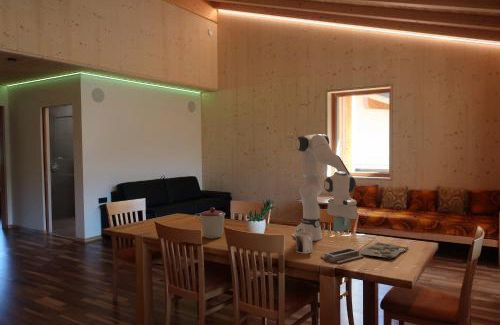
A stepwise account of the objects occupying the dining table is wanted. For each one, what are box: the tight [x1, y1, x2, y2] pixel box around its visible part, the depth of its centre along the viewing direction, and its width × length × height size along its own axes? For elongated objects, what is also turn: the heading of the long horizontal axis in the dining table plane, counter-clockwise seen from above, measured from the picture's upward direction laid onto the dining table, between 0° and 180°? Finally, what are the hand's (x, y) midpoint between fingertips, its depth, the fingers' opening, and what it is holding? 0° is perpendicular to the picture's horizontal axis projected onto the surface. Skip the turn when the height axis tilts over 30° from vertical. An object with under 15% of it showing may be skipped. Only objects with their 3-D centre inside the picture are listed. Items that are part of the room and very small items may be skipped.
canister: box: [199, 207, 226, 240], centre depth 277 cm, size 18×18×21 cm
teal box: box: [333, 217, 351, 232], centre depth 223 cm, size 3×10×7 cm, turn 123°
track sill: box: [320, 247, 365, 265], centre depth 224 cm, size 14×20×4 cm
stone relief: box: [359, 241, 409, 261], centre depth 234 cm, size 32×3×20 cm
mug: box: [295, 232, 314, 254], centre depth 237 cm, size 10×12×11 cm
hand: (341, 224), depth 223 cm, fingers closed on teal box, 3 cm apart
